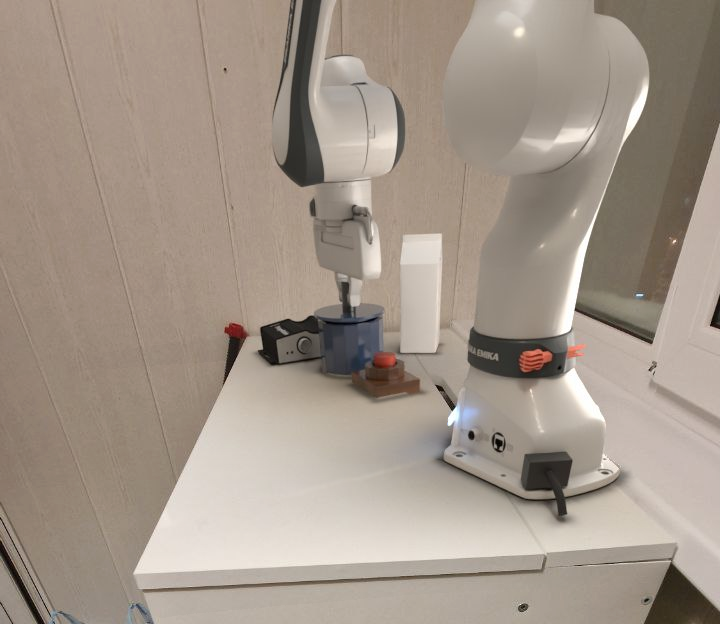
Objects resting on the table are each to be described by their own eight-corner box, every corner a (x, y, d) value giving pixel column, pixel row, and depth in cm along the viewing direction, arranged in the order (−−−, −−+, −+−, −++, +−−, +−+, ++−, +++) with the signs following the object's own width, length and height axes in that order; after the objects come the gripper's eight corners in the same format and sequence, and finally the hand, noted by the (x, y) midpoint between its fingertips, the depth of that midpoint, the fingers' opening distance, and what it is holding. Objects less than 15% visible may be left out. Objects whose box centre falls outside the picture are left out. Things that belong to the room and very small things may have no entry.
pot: (394, 371, 102) (393, 319, 97) (336, 382, 99) (332, 328, 93) (368, 356, 110) (366, 308, 105) (313, 366, 107) (309, 316, 101)
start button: (399, 366, 92) (399, 355, 90) (379, 370, 91) (379, 358, 90) (389, 361, 94) (389, 350, 93) (370, 365, 93) (370, 353, 92)
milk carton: (435, 353, 110) (440, 235, 97) (399, 353, 111) (399, 237, 98) (438, 344, 115) (443, 231, 102) (404, 344, 116) (405, 232, 104)
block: (419, 392, 92) (420, 366, 90) (376, 401, 90) (375, 375, 88) (393, 377, 99) (392, 353, 97) (352, 385, 97) (351, 360, 95)
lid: (396, 319, 96) (396, 281, 93) (329, 329, 93) (326, 290, 89) (367, 306, 105) (365, 271, 101) (304, 315, 102) (301, 280, 98)
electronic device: (252, 323, 114) (343, 310, 119) (257, 352, 117) (344, 338, 122) (269, 336, 104) (366, 322, 109) (273, 367, 108) (368, 352, 113)
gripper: (390, 205, 82) (391, 311, 91) (338, 200, 96) (344, 293, 105) (351, 208, 80) (356, 317, 89) (304, 203, 95) (313, 297, 104)
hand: (349, 303), depth 98 cm, fingers closed on lid, 2 cm apart
